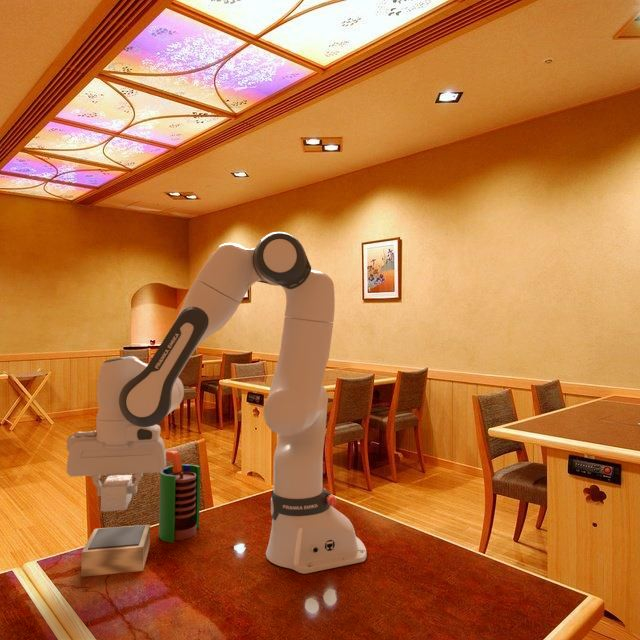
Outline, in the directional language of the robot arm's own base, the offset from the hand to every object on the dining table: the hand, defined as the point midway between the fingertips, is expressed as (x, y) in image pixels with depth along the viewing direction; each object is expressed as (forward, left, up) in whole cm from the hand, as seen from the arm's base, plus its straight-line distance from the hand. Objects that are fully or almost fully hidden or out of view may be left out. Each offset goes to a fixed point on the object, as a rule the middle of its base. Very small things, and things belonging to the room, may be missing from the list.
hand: (117, 493), depth 111 cm
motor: (-12, -12, -15) cm, 23 cm away
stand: (0, 0, -15) cm, 15 cm away
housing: (0, +1, -2) cm, 2 cm away
